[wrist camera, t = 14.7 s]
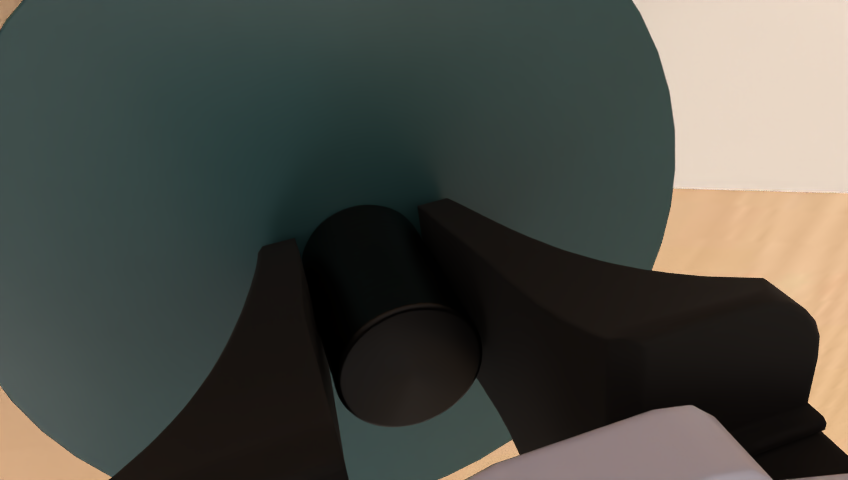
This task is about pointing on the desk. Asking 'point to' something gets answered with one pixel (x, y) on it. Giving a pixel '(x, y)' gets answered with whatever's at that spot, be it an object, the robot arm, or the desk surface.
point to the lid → (303, 196)
